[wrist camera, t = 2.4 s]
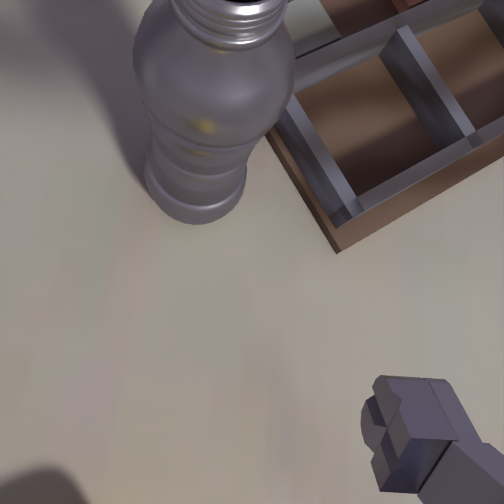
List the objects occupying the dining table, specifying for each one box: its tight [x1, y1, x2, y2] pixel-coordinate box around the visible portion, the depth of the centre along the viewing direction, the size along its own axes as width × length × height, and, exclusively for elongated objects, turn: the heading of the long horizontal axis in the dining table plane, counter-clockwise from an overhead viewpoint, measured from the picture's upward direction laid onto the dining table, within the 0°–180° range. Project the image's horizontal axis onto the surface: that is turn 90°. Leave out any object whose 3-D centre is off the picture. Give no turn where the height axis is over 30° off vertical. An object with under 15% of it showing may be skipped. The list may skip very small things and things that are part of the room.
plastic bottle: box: [133, 0, 295, 225], centre depth 23 cm, size 6×7×20 cm
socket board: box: [265, 0, 504, 254], centre depth 35 cm, size 18×23×4 cm
